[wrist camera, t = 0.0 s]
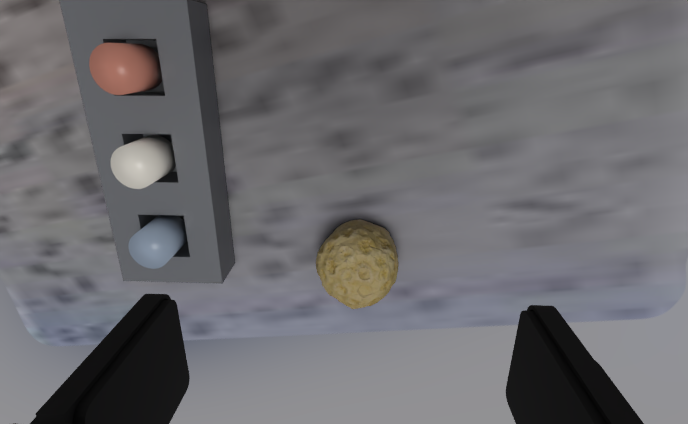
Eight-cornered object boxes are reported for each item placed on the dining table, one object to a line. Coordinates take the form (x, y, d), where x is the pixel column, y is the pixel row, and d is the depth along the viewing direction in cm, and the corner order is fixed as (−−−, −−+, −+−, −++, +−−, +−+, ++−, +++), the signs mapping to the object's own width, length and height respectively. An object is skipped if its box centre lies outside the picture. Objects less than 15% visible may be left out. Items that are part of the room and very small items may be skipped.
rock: (329, 267, 56) (345, 334, 50) (298, 222, 48) (311, 295, 41) (395, 243, 55) (419, 308, 49) (374, 192, 47) (400, 262, 40)
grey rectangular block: (92, 4, 42) (58, -2, 37) (206, 4, 42) (186, -2, 37) (144, 260, 53) (123, 280, 48) (234, 263, 53) (222, 283, 48)
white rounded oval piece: (133, 134, 43) (106, 144, 39) (174, 135, 43) (151, 145, 38) (141, 174, 45) (115, 188, 40) (180, 175, 45) (158, 189, 40)
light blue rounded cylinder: (148, 213, 47) (124, 230, 42) (186, 213, 46) (166, 231, 42) (155, 247, 48) (132, 268, 44) (191, 248, 48) (172, 269, 43)
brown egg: (116, 43, 40) (84, 42, 35) (160, 43, 40) (133, 42, 35) (125, 90, 42) (95, 94, 37) (167, 90, 41) (142, 95, 37)
